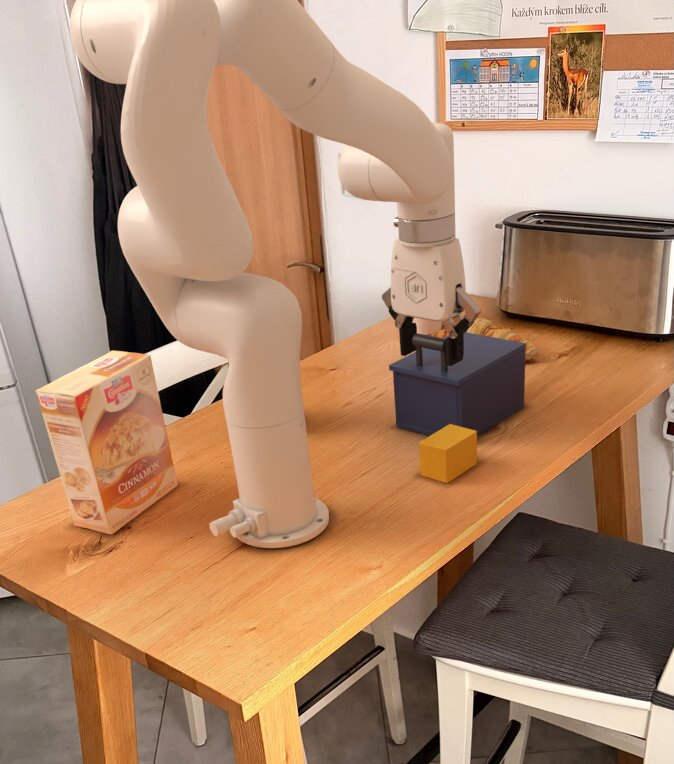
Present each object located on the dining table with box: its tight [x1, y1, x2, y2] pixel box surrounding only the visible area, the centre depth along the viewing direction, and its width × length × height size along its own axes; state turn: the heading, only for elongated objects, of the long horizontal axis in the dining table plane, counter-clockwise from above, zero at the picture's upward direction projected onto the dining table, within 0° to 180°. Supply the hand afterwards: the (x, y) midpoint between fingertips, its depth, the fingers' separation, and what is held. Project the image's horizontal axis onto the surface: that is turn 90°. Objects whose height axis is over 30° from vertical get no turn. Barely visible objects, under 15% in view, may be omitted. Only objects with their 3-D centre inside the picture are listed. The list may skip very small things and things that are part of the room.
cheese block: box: [418, 424, 478, 484], centre depth 125 cm, size 7×5×5 cm, turn 137°
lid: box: [388, 332, 526, 386], centre depth 134 cm, size 17×13×5 cm
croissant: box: [426, 317, 539, 361], centre depth 160 cm, size 21×10×8 cm, turn 60°
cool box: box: [392, 349, 526, 437], centre depth 138 cm, size 16×13×9 cm
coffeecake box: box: [35, 349, 179, 536], centre depth 121 cm, size 15×7×20 cm, turn 151°
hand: (431, 357), depth 130 cm, fingers open, 7 cm apart
